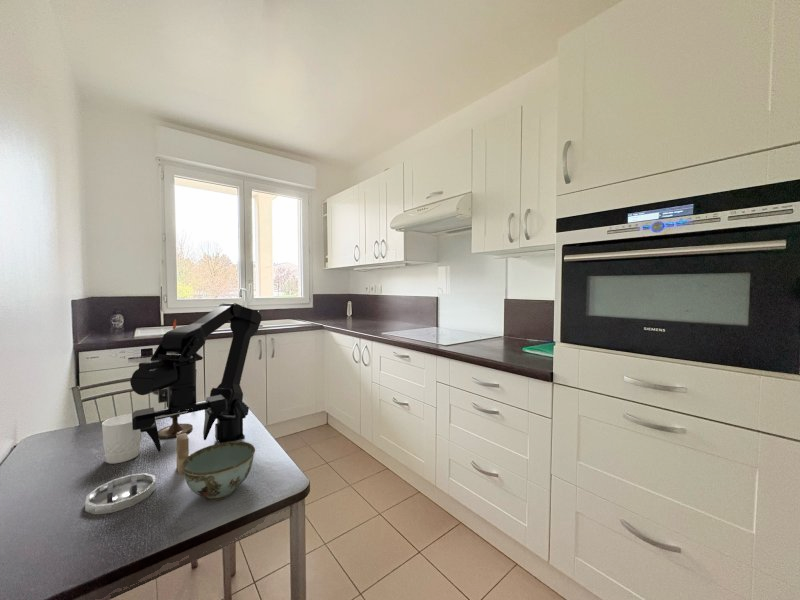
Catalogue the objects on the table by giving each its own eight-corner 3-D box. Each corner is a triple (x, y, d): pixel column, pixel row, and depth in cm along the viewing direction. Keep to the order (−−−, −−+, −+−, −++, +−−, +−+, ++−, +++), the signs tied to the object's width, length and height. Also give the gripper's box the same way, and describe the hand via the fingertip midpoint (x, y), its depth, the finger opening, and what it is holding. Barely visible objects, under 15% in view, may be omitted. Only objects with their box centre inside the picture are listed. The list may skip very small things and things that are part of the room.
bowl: (203, 523, 59) (202, 481, 58) (170, 498, 66) (169, 460, 66) (267, 485, 70) (267, 450, 70) (233, 467, 77) (233, 435, 77)
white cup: (119, 466, 78) (118, 426, 77) (94, 463, 79) (93, 424, 79) (150, 451, 85) (149, 414, 85) (126, 448, 87) (126, 412, 87)
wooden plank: (186, 464, 79) (186, 432, 79) (188, 471, 76) (188, 438, 76) (176, 467, 77) (176, 435, 77) (178, 474, 74) (178, 440, 74)
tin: (153, 474, 74) (153, 464, 74) (157, 497, 66) (157, 485, 66) (88, 494, 67) (88, 482, 67) (83, 522, 59) (83, 509, 59)
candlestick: (171, 424, 102) (170, 318, 102) (203, 425, 102) (203, 318, 101) (143, 440, 92) (141, 320, 91) (179, 441, 91) (177, 321, 91)
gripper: (218, 369, 89) (218, 424, 89) (131, 382, 76) (132, 445, 77) (227, 377, 80) (228, 438, 80) (131, 393, 68) (133, 464, 68)
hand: (182, 445), depth 77 cm, fingers open, 9 cm apart
